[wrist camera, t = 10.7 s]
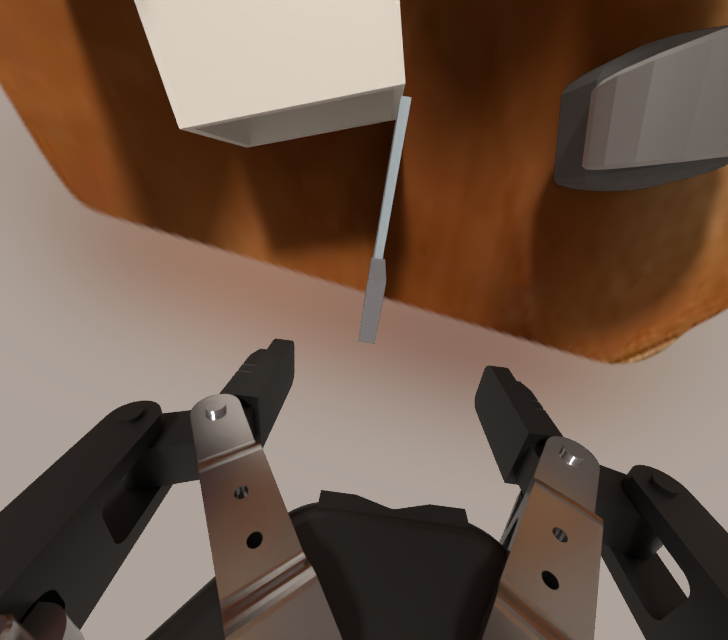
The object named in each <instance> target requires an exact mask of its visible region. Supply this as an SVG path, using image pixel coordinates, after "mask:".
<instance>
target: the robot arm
mask: <svg viewBox="0 0 728 640" xmlns="http://www.w3.org/2000/svg"><path fill="white" fill-rule="evenodd" d="M293 378H294V342H293V341H290V340H282V339H274V340H273V342H272V343H271V344H270V346H269V347H268V349H267V350H266V349H259V350H258V351H256V352H254V353H252V354H251V355H250V356H249V357H248V358H247V359H246V361H245V362H244V364H243V365H242V366H241V367H240V368H239V371H237V372H236V373H235V375H234V376H233V377H232V379H231V380H230V381H229V382H228V384H227V385H226V386H225V387H224V389H223V390H222V391H221V392H220V394H217V395H212V396H209V397H206V398H204V399H202V400H201V401H199V402H198V403H197V404H196V405H195V406H194V407H193V408H192V410H189V411H181V412H172V413H162V410H161V407H160V405H159V404H157V403H155V402H153V401H138V402H133V403H129V404H126V405H123V406H121V407H119V408H117V409H115V410H114V411H112V412H111V413H109V414H108V415H107V416H106V417H105V418H104V419H103V420H102V421H100V422H99V423H98V424H97V425H96V426H95V427H94V428H93V429H91V430H90V431H89V432H88V433H87V434H86V435H85V436H84V437H83V438H81V439H80V440H79V441H78V442H77V443H76V444H75V445H74V446H73V447H72V448H70V449H69V450H68V451H67V452H66V453H65V454H64V455H63V456H62V457H60V458H59V459H58V460H57V461H56V462H55V463H54V464H53V465H52V466H51V467H49V469H47V470H46V471H45V472H44V473H43V474H42V475H41V476H39V477H38V478H37V479H36V480H35V481H34V482H33V483H32V484H31V485H30V486H28V487H27V488H26V489H25V490H24V491H23V492H22V493H21V494H20V495H19V496H17V498H15V499H14V500H13V501H12V502H11V503H10V504H9V505H7V507H5V508H4V509H3V510H2V511H1V512H0V640H84V637H83V635H82V633H81V632H80V629H81V628H82V626H83V625H84V623H85V621H86V620H87V618H88V617H89V615H90V613H91V612H92V610H93V609H94V607H95V606H96V604H97V603H98V601H99V599H100V598H101V596H102V595H103V593H104V591H105V590H106V588H107V587H108V585H109V584H110V582H111V581H112V579H113V577H114V576H115V574H116V573H117V571H118V570H119V568H120V566H121V565H122V563H123V562H124V560H125V559H126V557H127V555H128V554H129V552H130V551H131V549H132V548H133V546H134V544H135V543H136V541H137V540H138V538H139V537H140V535H141V534H142V532H143V530H144V529H145V527H146V526H147V524H148V522H149V521H150V519H151V518H152V516H153V515H154V513H155V512H156V510H157V508H158V507H159V505H160V504H161V502H162V500H163V499H164V497H165V495H166V494H167V493H168V491H169V489H170V488H171V486H172V485H173V484H176V483H182V482H188V481H194V480H200V484H201V490H202V496H203V502H204V509H205V514H206V521H207V527H208V533H209V539H210V546H211V552H212V558H213V564H214V570H215V577H214V578H213V579H212V580H211V581H209V582H208V583H207V584H206V585H205V586H204V587H203V588H202V589H200V590H199V591H198V592H197V593H196V594H195V595H194V596H193V597H192V598H191V599H190V600H189V601H187V602H186V603H185V604H184V605H183V606H182V607H181V608H180V609H179V610H177V611H176V613H174V614H173V615H172V616H171V617H170V618H169V619H168V620H166V621H165V622H164V623H163V624H162V625H161V626H160V627H159V628H158V629H157V630H156V631H154V632H153V633H152V634H151V635H150V636H149V637H148V638H147V639H145V640H594V629H595V618H596V606H597V594H598V582H599V571H600V559H601V556H602V558H603V560H604V562H605V564H606V565H607V567H608V569H609V571H610V573H611V575H612V577H613V579H614V581H615V582H616V584H617V586H618V588H619V590H620V592H621V594H622V596H623V598H624V599H625V601H626V603H627V605H628V607H629V609H630V611H631V613H632V614H633V616H634V618H635V620H636V622H637V624H638V626H639V628H640V630H641V631H642V633H643V635H644V637H645V639H646V640H728V533H727V532H726V531H725V529H723V527H722V526H721V525H720V524H719V523H718V522H717V521H716V520H715V519H714V518H713V517H712V516H711V514H709V512H708V511H707V510H706V509H705V508H704V507H703V506H702V505H701V504H700V503H699V502H698V500H697V499H696V498H695V497H694V496H693V495H692V494H691V493H690V492H689V491H688V490H687V489H686V488H685V487H684V486H683V485H682V484H680V483H679V482H678V481H676V480H675V479H673V478H672V477H670V476H669V475H667V474H665V473H663V472H661V471H659V470H657V469H654V468H652V467H649V466H645V465H636V466H634V467H632V469H631V470H630V471H629V473H628V474H627V475H626V474H623V473H621V472H618V471H615V470H612V469H610V468H607V467H604V466H601V465H599V463H598V461H597V460H596V458H595V457H594V456H593V454H592V453H591V452H590V451H589V450H587V449H586V448H585V447H583V446H582V445H580V444H579V443H577V442H575V441H573V440H570V439H568V438H565V437H563V436H562V434H561V433H560V432H559V430H558V429H557V427H556V426H555V424H554V423H553V421H552V420H551V419H550V417H549V416H548V414H547V413H546V411H545V410H543V407H542V406H541V404H540V403H539V402H538V400H537V399H536V397H535V396H534V395H533V393H532V392H531V390H529V389H528V388H527V387H526V386H525V385H523V384H522V383H521V382H519V381H516V379H515V378H514V377H513V375H512V373H511V372H510V370H509V369H508V368H504V367H496V366H487V367H486V368H485V370H484V372H483V375H482V378H481V381H480V384H479V387H478V390H477V392H476V396H475V409H476V412H477V414H478V417H479V420H480V422H481V425H482V427H483V430H484V432H485V435H486V437H487V439H488V442H489V445H490V447H491V450H492V452H493V455H494V457H495V460H496V462H497V464H498V467H499V470H500V472H501V475H502V477H503V480H504V482H505V483H510V484H517V485H519V486H520V489H521V491H520V493H519V495H518V497H517V499H516V502H515V504H514V507H513V509H512V512H511V514H510V517H509V520H508V522H507V525H506V527H505V530H504V532H503V535H502V537H501V539H500V542H498V541H497V540H496V539H494V538H493V537H492V536H491V535H489V534H487V533H486V532H485V531H483V530H481V529H480V528H478V527H476V526H474V525H472V524H470V523H468V519H467V515H466V511H465V509H460V508H452V507H445V506H437V505H430V504H429V505H423V506H416V507H408V508H402V509H390V508H388V507H385V506H383V505H380V504H378V503H375V502H373V501H370V500H368V499H365V498H363V497H360V496H358V495H354V494H346V493H338V492H330V491H324V490H321V493H320V498H319V502H317V503H311V504H307V505H304V506H301V507H299V508H297V509H294V510H292V511H290V512H289V513H288V512H287V509H286V507H285V504H284V502H283V499H282V497H281V494H280V492H279V489H278V487H277V484H276V481H275V479H274V476H273V474H272V472H271V469H270V466H269V464H268V461H267V459H266V456H265V454H264V451H263V446H264V444H265V442H266V440H267V438H268V436H269V433H270V431H271V429H272V427H273V425H274V423H275V420H276V418H277V416H278V414H279V412H280V410H281V408H282V405H283V403H284V401H285V399H286V397H287V395H288V393H289V390H290V388H291V386H292V383H293ZM662 545H664V546H665V547H666V549H667V550H668V551H669V553H670V554H671V555H672V557H673V558H674V560H675V561H676V562H677V564H678V565H679V567H680V568H681V569H682V571H683V572H684V574H685V576H686V578H687V580H688V582H689V586H690V596H689V598H687V597H686V595H685V594H684V592H683V591H682V589H681V588H680V586H679V585H678V584H677V582H676V581H675V579H674V578H673V576H672V575H671V573H670V572H669V570H668V569H667V568H666V566H665V565H664V563H663V562H662V560H661V559H660V557H659V556H658V554H657V553H656V552H657V550H659V549H660V548H661V547H662Z"/></svg>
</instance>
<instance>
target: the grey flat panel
mask: <svg viewBox="0 0 728 640" xmlns="http://www.w3.org/2000/svg"><path fill="white" fill-rule="evenodd" d="M410 103H411V97H406V96H401V99H400V103H399V108H398V113H397V117H396V122H395V126H394V132H393V138H392V145H391V151H390V157H389V163H388V169H387V175H386V181H385V187H384V193H383V199H382V205H381V212H380V218H379V224H378V230H377V236H376V242H375V248H374V254H373V257H371V263H370V270H369V276H368V282H367V288H366V294H365V301H364V307H363V314H362V321H361V328H360V334H359V340H358V341H360V342H366V343H373V344H374V343H375V338H376V333H377V328H378V323H379V317H380V312H381V307H382V302H383V296H384V291H385V286H386V266H385V259H383V254H384V248H385V242H386V237H387V231H388V226H389V220H390V215H391V209H392V203H393V198H394V192H395V187H396V181H397V175H398V170H399V164H400V159H401V153H402V148H403V142H404V136H405V131H406V125H407V120H408V114H409V108H410Z"/></svg>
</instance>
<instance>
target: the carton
mask: <svg viewBox="0 0 728 640" xmlns="http://www.w3.org/2000/svg"><path fill="white" fill-rule="evenodd" d="M134 2H135V4H136V7H137V10H138V13H139V16H140V19H141V21H142V24H143V27H144V30H145V33H146V36H147V39H148V41H149V44H150V47H151V50H152V53H153V56H154V58H155V61H156V64H157V67H158V70H159V73H160V76H161V78H162V81H163V84H164V87H165V90H166V93H167V95H168V98H169V101H170V104H171V107H172V110H173V113H174V115H175V118H176V121H177V124H178V127H179V129H181V130H185V131H188V132H192V133H195V134H199V135H203V136H206V137H210V138H214V139H217V140H221V141H225V142H228V143H232V144H236V145H239V146H243V147H247V148H248V147H254V146H259V145H264V144H269V143H275V142H280V141H285V140H291V139H296V138H301V137H307V136H312V135H317V134H323V133H328V132H333V131H339V130H344V129H349V128H355V127H360V126H365V125H371V124H376V123H381V122H387V121H392V120H396V117H397V113H398V108H399V103H400V99H401V96H403V92H404V88H405V70H404V56H403V42H402V28H401V14H400V0H134Z"/></svg>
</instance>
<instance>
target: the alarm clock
mask: <svg viewBox="0 0 728 640" xmlns="http://www.w3.org/2000/svg"><path fill="white" fill-rule="evenodd" d="M727 164H728V25H726V26H720V27H714V28H708V29H702V30H696V31H691V32H686V33H682V34H677V35H673V36H670V37H666V38H663V39H660V40H657V41H654V42H650V43H647V44H644V45H642V46H640V47H638V48H636V49H634V50H631V51H629V52H627V53H625V54H623V55H621V56H619V57H617V58H615V59H613V60H611V61H609V62H607V63H605V64H603V65H601V66H599V67H597V68H595V69H593V70H591V71H589V72H587V73H585V74H584V75H582V76H581V77H580V78H578V79H577V80H575V81H574V82H572V83H571V84H569V85H568V86H567V87H566V88H565V90H564V92H563V93H562V95H561V104H560V115H559V125H558V136H557V146H556V157H555V167H554V178H553V179H554V181H555V182H556V184H557V185H561V186H564V187H567V188H571V189H577V190H590V191H626V190H639V189H645V188H649V187H653V186H658V185H662V184H666V183H671V182H675V181H680V180H684V179H688V178H691V177H694V176H698V175H701V174H704V173H707V172H710V171H714V170H717V169H719V168H721V167H724V166H725V165H727Z"/></svg>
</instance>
